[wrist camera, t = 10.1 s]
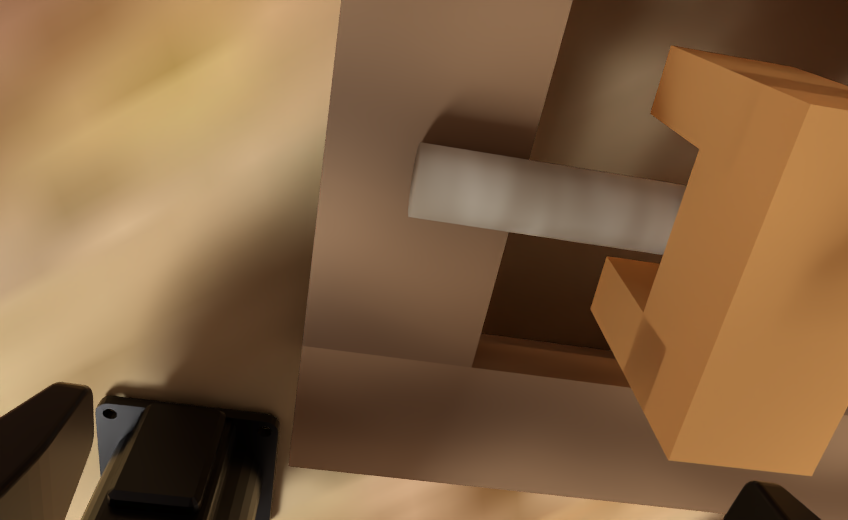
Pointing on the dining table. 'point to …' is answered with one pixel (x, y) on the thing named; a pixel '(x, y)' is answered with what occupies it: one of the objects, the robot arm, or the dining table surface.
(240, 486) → the robot arm
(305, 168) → the dining table surface
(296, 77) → the dining table surface
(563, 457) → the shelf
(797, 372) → the tall grooved wooden block
